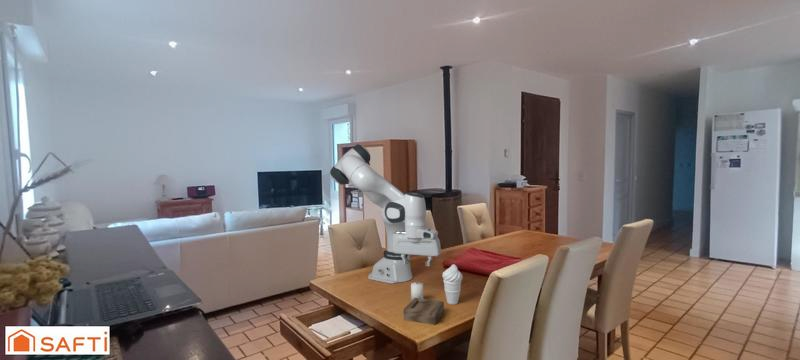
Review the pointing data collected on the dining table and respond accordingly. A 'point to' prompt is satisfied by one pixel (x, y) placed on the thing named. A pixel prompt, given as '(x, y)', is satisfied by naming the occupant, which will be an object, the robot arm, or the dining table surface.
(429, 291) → the dining table surface
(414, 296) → the white wax pillar
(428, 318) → the holder
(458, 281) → the soft serve ice cream cone
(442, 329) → the dining table surface
